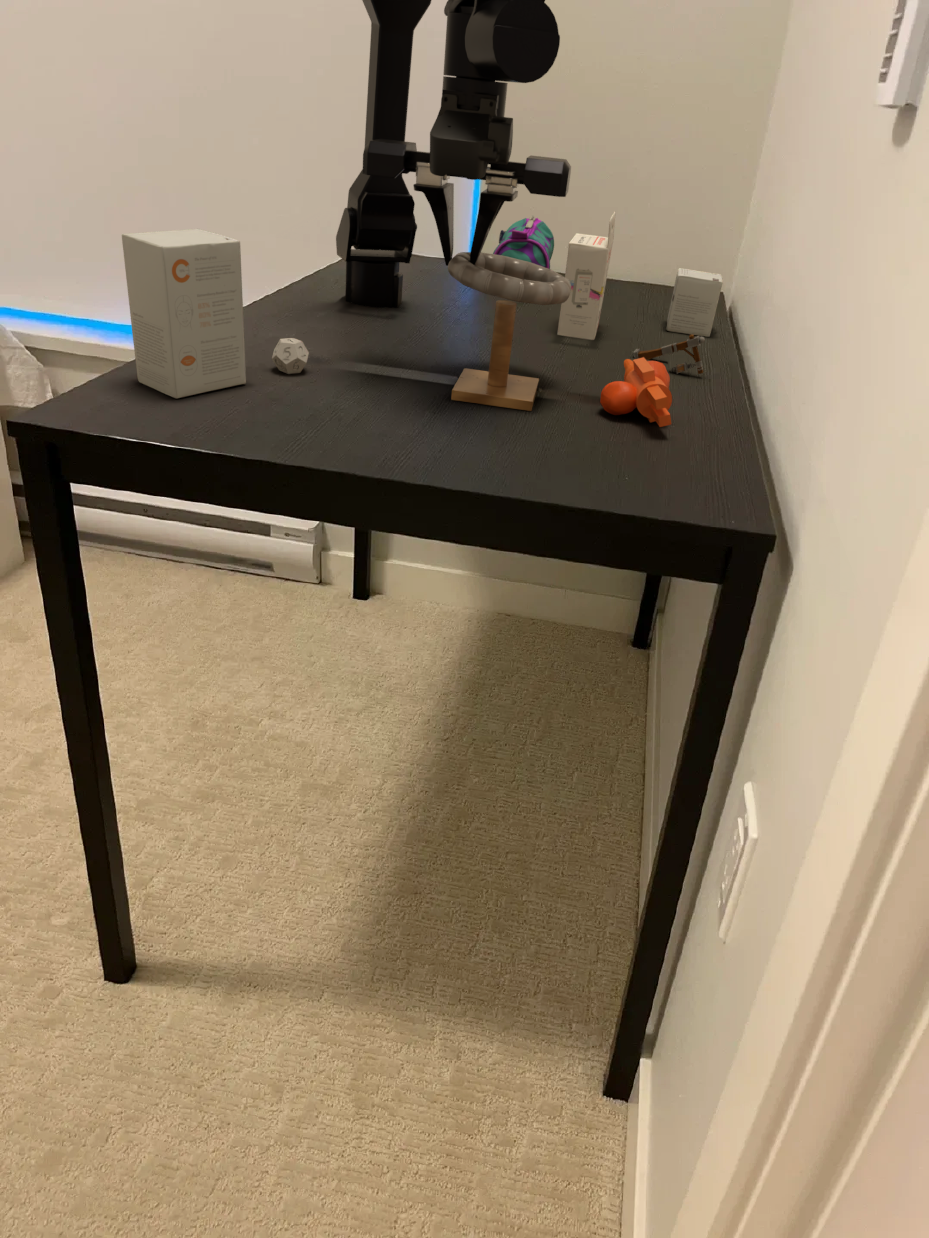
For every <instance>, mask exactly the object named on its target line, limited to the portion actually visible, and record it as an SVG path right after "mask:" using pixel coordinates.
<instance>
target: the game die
mask: <svg viewBox="0 0 929 1238" xmlns="http://www.w3.org/2000/svg"><path fill="white" fill-rule="evenodd" d="M309 353H310V351H309V350H308V349H307V347H306V346H305V343H304V342H303V340H300V339H297V338H294V337H284V338H279V340H278V342H277V344H276V345H275V347H274V349H273V353H272V357H271V360H272V362H273V363H274V365H275V366H276V368H277V370H278V371H280V372H283V373H285V374H288V375H291V374H300V373H301V372H302V371H303V369H304V368H305V366H306V365H307V362H308V358H309Z"/></svg>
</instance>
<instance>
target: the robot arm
mask: <svg viewBox="0 0 929 1238" xmlns="http://www.w3.org/2000/svg"><path fill="white" fill-rule="evenodd" d="M361 1H362V4H363V5H364V8H365V10H366V13H367V15H368V18H369V21H370V41H369V42H370V43H369V44H370V45H369V59H368V60H369V61H368V62H369V63H368V78H367V79H368V81H367V95H366V96H367V97H366V115H365V119H366V120H365V130H364V131H365V133H364V148H363V152H362V169H361V170H360V172H359V174H358V175H357V177H356V178H355V179H354V181H353V182H352V184H351V186H350V187H349V189H348V194H347V206H346V207H345V208H344V209H343V212H342V215H341V219H340V222H339V224H338V229H337V232H336V236H335V246H336V247H335V248H336V256H338V257H339V258H340V259H342V261H344V262H345V293H344V296H345V297H344V301H345V302H346V303H351V304H354V305H357V306H361V307H365V308H389V309H392V308H394V309H398V308H399V307H400V306H401V305H402V300H403V285H404V283H403V282H404V281H403V280H404V274H403V272H400V263H404V264H410V263H411V258H412V256H413V250H414V246H415V245H414V244H415V241H416V240H415V239H416V233H417V230H418V223H416V216H415V213H414V212H415V205H416V204H415V200H414V197H413V195H412V194H410V192H409V189H408V186H407V184H406V183H405V180H404V178H403V175H404V174H405V175H409V173H415V183H414V184H413V190H414V192H421V193H422V194H423V195H424V196H425V198H426V200H427V202H428V204H429V206H430V210H431V212H432V215H433V217H434V222H435V224H436V225H435V226H436V229H437V232H438V236H439V241H440V246H441V250H442V255H443V259H444V264H445V266H447V267H448V264H449V262H450V260H451V259H452V258H453V253H454V224H455V223H454V222H455V221H454V219H455V218H454V217H455V215H454V214H455V213H454V212H455V211H454V208H455V207H454V206H455V205H454V203H455V201H454V199H455V198H454V197H455V196H454V195H455V191H454V190H455V187H454V186H455V183H454V182H448V181H449V179H450V178H451V177H453V178H464V179H466V180H471V181H472V180H473V181H475V180H476V181H477V180H478V181H479V180H480V181H485V182H484V183H485V184H484V185H487V186H486V189H484V190H483V191H481V192H480V193H479V194H480V195H479V204H478V213H477V218H476V223H475V228H474V233H473V238H472V243H471V248H470V252H471V253H470V263H472V264H473V265H476V263H477V260H478V258H479V255H480V253H481V252H482V250H483V248H484V245H485V243H486V240H487V238H488V235H489V234H490V231H491V228H492V225H493V224H494V222H495V220H496V218H497V217H498V214H499V213H500V210H501V209H502V207H503V205H504V204H505V202H513V201H515V199H517V198H518V195H519V190H517V189H518V188H519V186H520V185H523V186H525V188H526V190H527V191H528V192H529V193H530V195H531V194H532V195H539V196H540V195H541V196H548V197H549V196H550V197H557V198H566V197H567V195H568V193H569V189H570V181H571V180H570V179H571V173H572V165H571V164H570V163H569V161H568V159H566V158H558V157H548V156H541V155H529V156H528V157H527V156H526V160H525V162H519V161H510V159H511V155H512V149H513V139H514V118H513V117H508V116H505V113H506V104H507V93H508V83H518V84H528V83H533V82H535V81H537V80H540V79H542V78H543V77H544V76H545V75H547V73H548V72H549V71H550V70H551V68H552V67H553V65H554V64H555V61H556V59H557V57H558V53H559V49H560V43H561V35H560V33H559V25H558V22H557V19H556V17H555V14H554V13H553V11H552V10H551V8H550V6H549V5H548V4H547V3H546V0H447V1H446V3H445V6H444V8H443V13H444V16H445V17H447V18H446V30H445V45H444V59H443V60H444V62H443V76H442V90H441V100H440V108H439V110H438V114H437V116H436V119H435V121H434V123H433V125H432V127H431V129H430V132H429V151H421V150H418V149H417V142H415V141H414V142H412V141H406V132H407V131H406V130H407V119H408V106H409V94H410V81H411V70H412V58H413V57H412V56H413V43H414V33H415V29H416V28H417V27H418V24H419V23H420V22H421V20H422V19H423V17H424V16H425V14H426V12H427V10H428V9H429V7H430V6H431V4H432V0H361ZM352 247H353V248H352Z"/></svg>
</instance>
